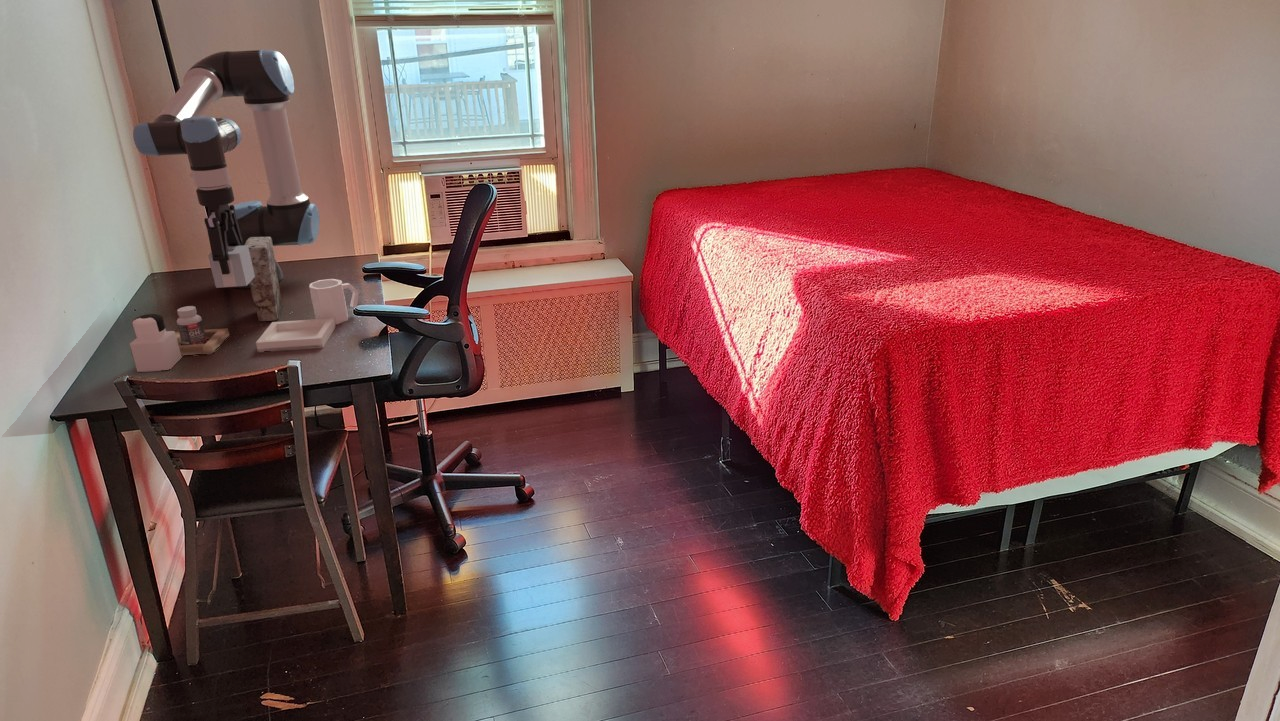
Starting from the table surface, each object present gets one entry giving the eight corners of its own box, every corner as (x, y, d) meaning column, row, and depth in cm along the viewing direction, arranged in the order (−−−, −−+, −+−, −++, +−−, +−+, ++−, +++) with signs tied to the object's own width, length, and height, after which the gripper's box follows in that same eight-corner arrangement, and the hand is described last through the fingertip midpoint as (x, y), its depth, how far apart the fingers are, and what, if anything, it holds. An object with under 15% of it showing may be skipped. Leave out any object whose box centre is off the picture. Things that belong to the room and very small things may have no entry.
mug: (321, 328, 212) (314, 291, 208) (310, 319, 219) (303, 283, 215) (367, 317, 219) (361, 281, 215) (355, 308, 225) (349, 273, 221)
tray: (274, 331, 211) (272, 322, 210) (335, 327, 212) (333, 318, 211) (257, 352, 198) (255, 342, 197) (323, 347, 200) (321, 338, 199)
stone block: (285, 319, 219) (269, 245, 211) (256, 324, 216) (239, 248, 208) (285, 304, 230) (270, 233, 222) (258, 308, 228) (242, 236, 220)
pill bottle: (196, 351, 200) (186, 313, 196) (178, 349, 201) (168, 311, 197) (213, 343, 204) (203, 305, 201) (195, 341, 206) (185, 304, 202)
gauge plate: (179, 339, 208) (177, 331, 207) (229, 335, 209) (227, 328, 208) (159, 357, 197) (157, 350, 196) (213, 354, 198) (211, 346, 197)
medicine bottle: (151, 360, 195) (137, 312, 191) (182, 358, 196) (170, 310, 191) (137, 372, 189) (122, 323, 184) (169, 371, 189) (156, 321, 185)
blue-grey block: (225, 278, 205) (217, 247, 202) (255, 276, 206) (247, 245, 203) (216, 287, 199) (207, 255, 195) (246, 285, 199) (239, 253, 196)
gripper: (211, 178, 201) (232, 269, 211) (180, 197, 183) (205, 295, 193) (243, 176, 202) (263, 267, 212) (215, 195, 184) (239, 293, 193)
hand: (235, 280), depth 202 cm, fingers closed on blue-grey block, 7 cm apart
